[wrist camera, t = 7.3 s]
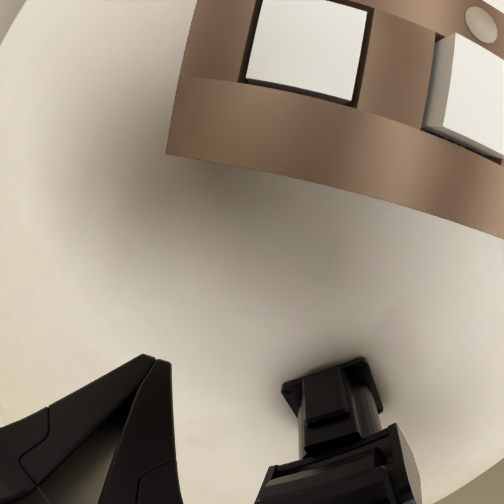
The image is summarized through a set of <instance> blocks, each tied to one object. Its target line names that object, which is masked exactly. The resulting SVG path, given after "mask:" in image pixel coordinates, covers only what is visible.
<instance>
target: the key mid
mask: <svg viewBox="0 0 504 504" xmlns="http://www.w3.org/2000/svg"><path fill="white" fill-rule="evenodd" d="M421 128H422V129H424V130H427V131H429V132H432V133H434V134H437V135H439V136H442V137H444V138H447V139H449V140H451V141H454V142H456V143H458V144H461V145H463V146H465V147H467V148H470V149H472V150H474V151H476V152H478V153H480V154H482V155H487V156H492V157H496V158H501V159H504V60H503V59H501V58H500V57H498V56H496V55H495V54H493V53H491V52H490V51H488V50H486V49H485V48H483V47H481V46H480V45H478V44H476V43H474V42H473V41H471V40H469V39H467V38H465V37H463V36H461V35H459V34H457V33H454V34H452V35H450V36H447V37H445V38H443V39H441V40H439V41H437V42H435V43H434V51H433V59H432V67H431V74H430V80H429V87H428V93H427V98H426V104H425V109H424V115H423V120H422V125H421Z"/></svg>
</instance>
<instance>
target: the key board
mask: <svg viewBox="0 0 504 504" xmlns="http://www.w3.org/2000/svg"><path fill="white" fill-rule="evenodd" d="M326 1H330V2H334V3H338V4H342V5H345V6H349V7H352V8H356V9H359V10H362V11H366V12H367V15H366V22H365V28H364V34H363V40H362V46H361V52H360V57H359V63H358V68H357V74H356V79H355V84H354V89H353V94H352V99H351V101H349V102H347V103H345V104H342V105H341V104H338V103H334V102H330V101H326V100H322V99H318V98H314V97H310V96H305V95H301V94H296V93H292V92H287V91H282V90H277V89H272V88H267V87H261V86H255V85H249V82H248V80H247V79H246V74H247V70H248V65H249V60H250V56H251V51H252V46H253V42H254V37H255V33H256V29H257V24H258V20H259V15H260V11H261V7H262V3H263V0H197V4H196V7H195V11H194V15H193V19H192V23H191V27H190V31H189V35H188V39H187V43H186V48H185V52H184V57H183V61H182V66H181V70H180V75H179V80H178V85H177V90H176V96H175V101H174V106H173V112H172V118H171V124H170V130H169V136H168V142H167V149H166V154H168V155H175V156H181V157H187V158H194V159H200V160H206V161H211V162H217V163H223V164H228V165H234V166H239V167H244V168H249V169H254V170H259V171H264V172H269V173H274V174H279V175H283V176H288V177H292V178H297V179H301V180H306V181H310V182H314V183H318V184H323V185H327V186H331V187H335V188H339V189H343V190H347V191H351V192H354V193H358V194H362V195H366V196H370V197H373V198H377V199H381V200H384V201H388V202H391V203H395V204H398V205H402V206H405V207H408V208H412V209H415V210H418V211H422V212H425V213H428V214H431V215H434V216H438V217H441V218H444V219H447V220H450V221H453V222H456V223H459V224H462V225H465V226H468V227H471V228H474V229H477V230H479V231H482V232H485V233H488V234H491V235H493V236H496V237H499V238H501V239H504V159H501V158H496V157H492V156H487V155H482V154H480V153H478V152H476V151H474V150H472V149H470V148H467V147H465V148H463V147H461V146H458V145H456V144H454V143H451V142H449V141H447V140H444V139H442V138H439V137H437V136H434V135H432V134H429V133H427V132H424V131H421V125H422V120H423V115H424V109H425V104H426V98H427V93H428V87H429V80H430V74H431V67H432V59H433V51H434V43H435V42H437V41H439V40H441V39H443V38H445V37H447V36H450V35H452V34H454V33H457V34H459V35H461V36H463V37H465V38H467V39H469V40H471V41H473V42H474V43H476V44H478V45H480V46H481V47H483V48H485V49H486V50H488V51H490V52H491V53H493V54H495V55H496V56H498V57H500V58H501V59H503V60H504V14H503V13H502V12H500V11H498V10H497V9H495V8H494V7H492V6H491V5H489V4H487V3H486V2H484V1H482V0H326Z"/></svg>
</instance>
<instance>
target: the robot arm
mask: <svg viewBox="0 0 504 504" xmlns="http://www.w3.org/2000/svg"><path fill="white" fill-rule="evenodd" d="M360 364H363V365H361V366H359V365H360ZM286 389H290V390H286ZM281 393H282V395H283V396H284V398H285V399H286V401H287V403H288V404H289V406H290V407H291V409H292V410H293V412H294V413H295V415H296V416H297V418H298V429H299V460H297V461H294V462H290V463H287V464H283V465H279V466H278V465H274V466H270V467H269V468H268V471H267V473H266V476H265V478H264V481H263V483H262V486H261V488H260V491H259V493H258V496H257V498H256V501H255V503H254V504H422V497H421V482H420V476H419V473H418V469H417V466H416V463H415V460H414V457H413V454H412V451H411V449H410V448H409V446H408V444H407V442H406V440H405V438H404V436H403V434H402V432H401V430H400V429H399V427H398V425H397V423H394V424H392V425H389V426H388V428H386V429H384V430H382V428H381V424H380V420H379V416H378V414H380V413H382V412H383V406H382V403H381V400H380V397H379V394H378V391H377V388H376V385H375V382H374V379H373V376H372V373H371V370H370V368H369V365H368V362H367V360H366V359H365V358H358V359H355V360H353V361H350V362H347V363H345V364H342V365H339V366H336V367H334V368H331V369H328V370H325V371H322V372H319V373H316V374H313V375H310V376H307V377H304V378H301V379H298V380H295V381H292V382H289V383H285V384H283V385H282V387H281ZM0 504H183V500H182V496H181V492H180V486H179V479H178V471H177V461H176V448H175V434H174V417H173V396H172V365H171V363H170V362H168V361H164V360H161V359H157V360H156V358H155V357H152V356H149V355H146V354H141V355H139V356H137V357H135V358H134V359H132V360H130V361H128V362H127V363H125V364H123V365H121V366H120V367H118V368H116V369H114V370H113V371H111V372H109V373H107V374H105V375H104V376H102V377H100V378H98V379H97V380H95V381H93V382H91V383H89V384H88V385H86V386H84V387H82V388H80V389H78V390H77V391H75V392H73V393H71V394H69V395H67V396H66V397H64V398H62V399H60V400H58V401H56V402H55V403H53V404H51V405H49V408H48V407H45V408H43V409H41V410H39V411H37V412H36V413H34V414H31V415H29V416H27V417H25V418H23V419H21V420H19V421H16V422H14V423H11V424H9V425H6V426H4V427H1V428H0Z"/></svg>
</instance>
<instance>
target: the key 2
mask: <svg viewBox="0 0 504 504" xmlns="http://www.w3.org/2000/svg"><path fill="white" fill-rule="evenodd" d="M366 15H367V12H366V11H362V10H359V9H356V8H352V7H349V6H345V5H342V4H338V3H334V2H330V1H326V0H263V3H262V7H261V11H260V15H259V20H258V24H257V29H256V33H255V37H254V42H253V46H252V51H251V56H250V60H249V65H248V70H247V74H246V79H247V80H248V82H249V83H250V85H255V86H261V87H267V88H272V89H277V90H282V91H287V92H292V93H296V94H301V95H305V96H310V97H314V98H318V99H322V100H326V101H330V102H334V103H338V104H341V105H342V104H345V103H347V102H349V101H351V99H352V94H353V89H354V84H355V79H356V74H357V68H358V63H359V57H360V52H361V46H362V40H363V34H364V28H365V22H366Z"/></svg>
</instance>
